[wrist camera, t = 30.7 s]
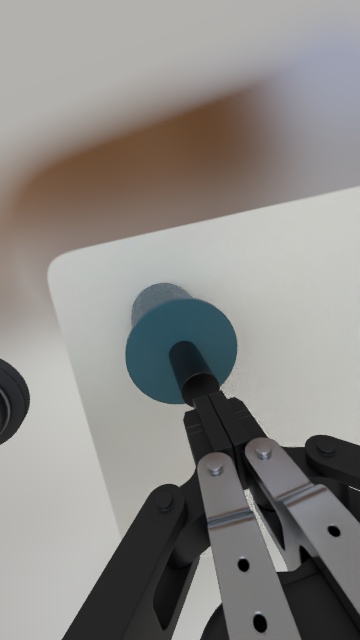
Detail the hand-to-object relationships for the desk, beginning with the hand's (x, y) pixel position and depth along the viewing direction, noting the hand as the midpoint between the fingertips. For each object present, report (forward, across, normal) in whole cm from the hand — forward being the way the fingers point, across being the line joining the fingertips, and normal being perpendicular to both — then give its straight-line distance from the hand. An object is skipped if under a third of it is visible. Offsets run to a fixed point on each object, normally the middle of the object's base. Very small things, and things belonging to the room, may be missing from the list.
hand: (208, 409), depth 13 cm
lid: (+7, 0, 0) cm, 7 cm away
